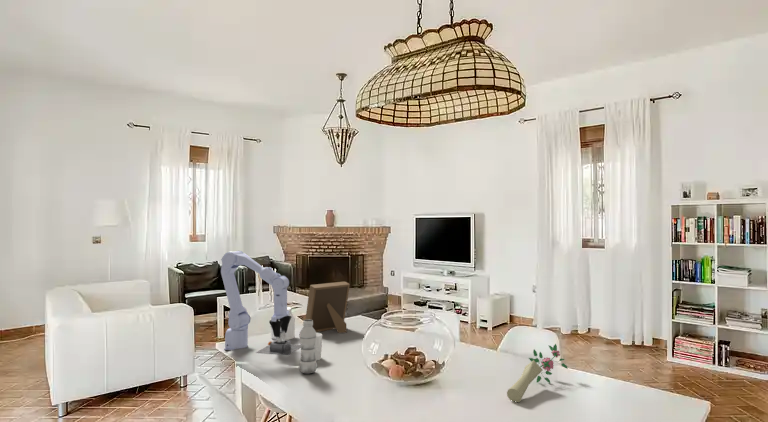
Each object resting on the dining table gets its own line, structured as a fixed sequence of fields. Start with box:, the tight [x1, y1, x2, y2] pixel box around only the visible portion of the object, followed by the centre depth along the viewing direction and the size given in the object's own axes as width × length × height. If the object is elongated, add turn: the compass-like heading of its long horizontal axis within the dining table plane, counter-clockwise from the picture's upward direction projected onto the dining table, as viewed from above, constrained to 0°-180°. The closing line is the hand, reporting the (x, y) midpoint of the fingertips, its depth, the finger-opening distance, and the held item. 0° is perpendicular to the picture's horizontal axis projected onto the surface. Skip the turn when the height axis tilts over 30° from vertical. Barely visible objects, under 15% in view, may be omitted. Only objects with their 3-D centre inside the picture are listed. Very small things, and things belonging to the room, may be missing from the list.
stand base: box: [255, 339, 301, 356], centre depth 215 cm, size 16×16×4 cm
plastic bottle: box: [298, 319, 318, 375], centre depth 186 cm, size 6×7×20 cm
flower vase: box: [506, 343, 569, 403], centre depth 170 cm, size 12×12×35 cm
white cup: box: [315, 332, 323, 361], centre depth 205 cm, size 8×8×10 cm
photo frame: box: [304, 281, 351, 334], centre depth 252 cm, size 15×22×25 cm
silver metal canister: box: [275, 330, 285, 344], centre depth 215 cm, size 4×4×8 cm
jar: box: [270, 306, 296, 341], centre depth 237 cm, size 12×10×15 cm
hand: (280, 334), depth 215 cm, fingers open, 7 cm apart
